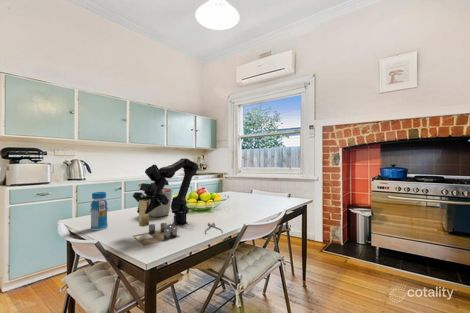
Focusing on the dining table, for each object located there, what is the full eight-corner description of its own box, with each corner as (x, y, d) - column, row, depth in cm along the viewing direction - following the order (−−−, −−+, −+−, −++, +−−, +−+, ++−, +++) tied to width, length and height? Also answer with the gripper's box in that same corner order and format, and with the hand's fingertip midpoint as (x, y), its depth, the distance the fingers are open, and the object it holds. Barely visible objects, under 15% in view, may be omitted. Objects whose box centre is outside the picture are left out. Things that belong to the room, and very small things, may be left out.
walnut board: (166, 230, 126) (166, 228, 126) (180, 238, 113) (180, 236, 113) (132, 237, 114) (132, 235, 114) (143, 247, 101) (143, 245, 101)
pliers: (206, 234, 118) (197, 223, 136) (206, 236, 118) (197, 225, 136) (224, 231, 121) (213, 222, 140) (224, 233, 121) (213, 223, 140)
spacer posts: (164, 229, 125) (164, 221, 125) (178, 236, 112) (178, 228, 112) (147, 232, 119) (147, 224, 119) (160, 241, 107) (160, 232, 107)
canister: (176, 212, 167) (176, 183, 167) (166, 218, 149) (166, 186, 149) (152, 211, 169) (152, 182, 169) (139, 218, 151) (139, 185, 151)
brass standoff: (148, 223, 115) (148, 199, 115) (149, 225, 111) (149, 200, 111) (138, 224, 113) (138, 199, 113) (139, 227, 109) (139, 201, 109)
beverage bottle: (87, 231, 125) (87, 194, 125) (94, 226, 134) (93, 191, 134) (104, 230, 127) (104, 193, 127) (109, 225, 135) (109, 191, 135)
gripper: (135, 176, 119) (117, 202, 109) (164, 177, 112) (148, 204, 102) (146, 189, 126) (130, 215, 116) (175, 191, 119) (160, 218, 109)
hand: (141, 213), depth 110 cm, fingers closed on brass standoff, 4 cm apart
